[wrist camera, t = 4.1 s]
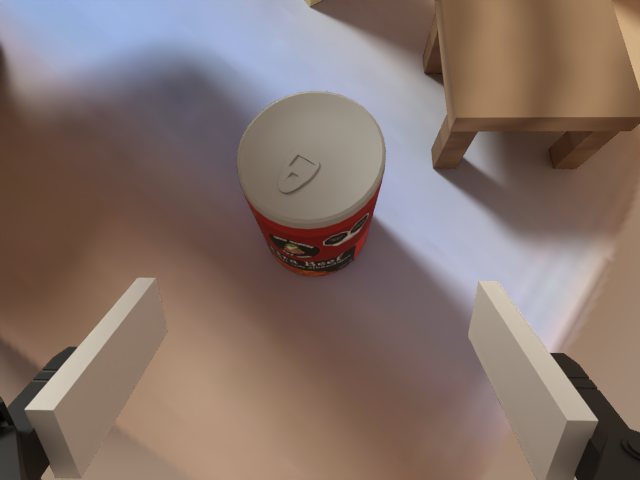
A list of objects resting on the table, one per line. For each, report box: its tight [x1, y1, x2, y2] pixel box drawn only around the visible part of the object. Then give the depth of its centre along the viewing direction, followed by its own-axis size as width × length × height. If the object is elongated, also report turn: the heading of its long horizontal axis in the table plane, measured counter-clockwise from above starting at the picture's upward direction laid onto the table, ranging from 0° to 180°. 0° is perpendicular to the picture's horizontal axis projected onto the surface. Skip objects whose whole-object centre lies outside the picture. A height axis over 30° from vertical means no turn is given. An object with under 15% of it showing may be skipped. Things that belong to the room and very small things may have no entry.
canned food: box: [237, 91, 386, 276], centre depth 25 cm, size 8×8×11 cm
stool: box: [423, 0, 640, 168], centre depth 30 cm, size 12×12×7 cm
